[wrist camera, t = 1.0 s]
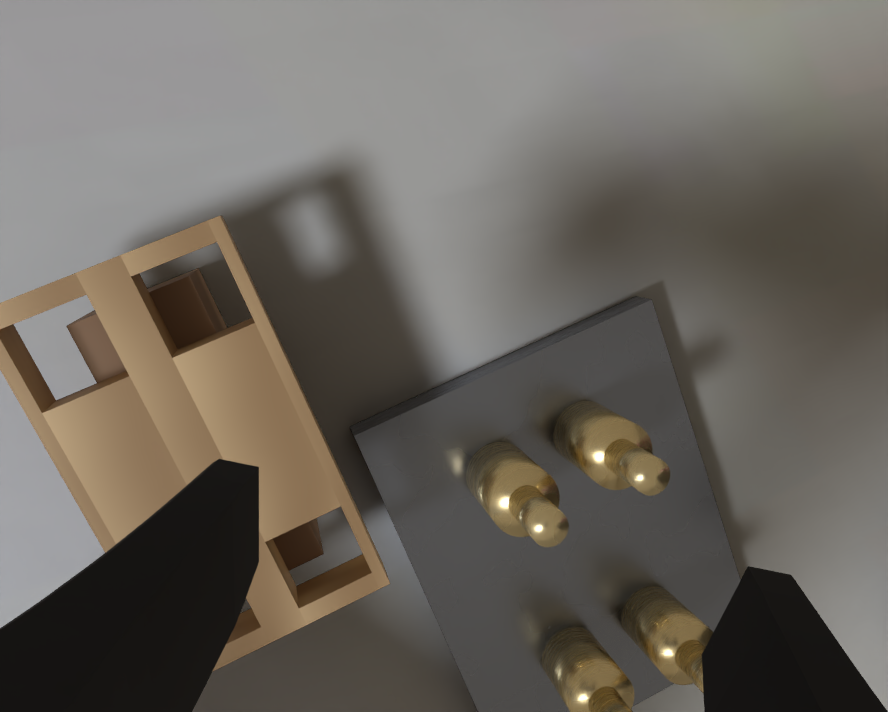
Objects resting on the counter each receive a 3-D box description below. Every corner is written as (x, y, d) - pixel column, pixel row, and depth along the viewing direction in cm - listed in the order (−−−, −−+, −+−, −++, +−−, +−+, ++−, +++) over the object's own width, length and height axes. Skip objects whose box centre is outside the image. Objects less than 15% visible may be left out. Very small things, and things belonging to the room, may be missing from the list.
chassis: (497, 755, 26) (556, 885, 21) (349, 426, 23) (376, 486, 18) (741, 622, 27) (850, 713, 22) (635, 296, 24) (737, 317, 19)
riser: (221, 555, 22) (216, 605, 19) (93, 310, 20) (66, 325, 17) (315, 511, 23) (323, 554, 20) (198, 267, 21) (189, 276, 18)
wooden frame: (186, 659, 20) (181, 686, 18) (-12, 309, 17) (-31, 315, 16) (382, 563, 20) (390, 583, 19) (222, 215, 18) (220, 215, 17)
